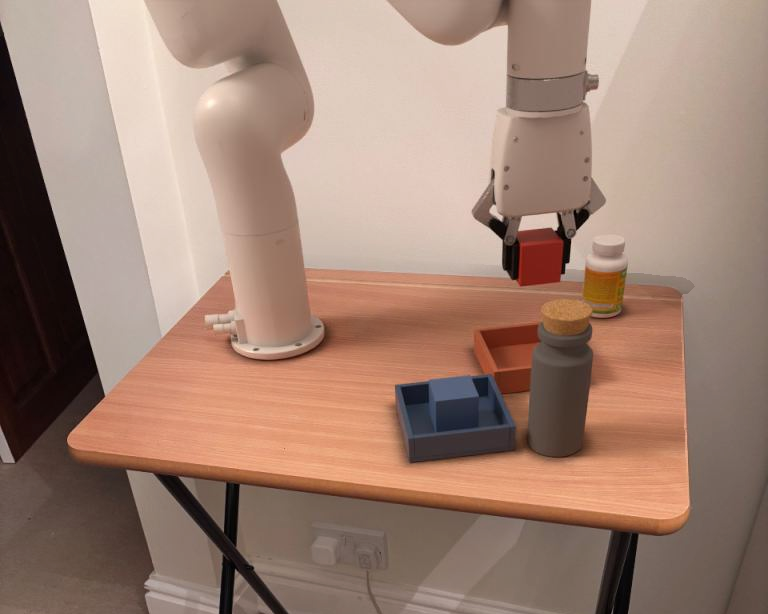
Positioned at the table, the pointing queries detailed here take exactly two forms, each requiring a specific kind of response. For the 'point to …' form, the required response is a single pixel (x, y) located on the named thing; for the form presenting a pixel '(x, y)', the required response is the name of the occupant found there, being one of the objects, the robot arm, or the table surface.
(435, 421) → the blue block
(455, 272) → the table surface
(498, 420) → the blue bin
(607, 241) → the supplement bottle
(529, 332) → the orange bin
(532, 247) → the red block
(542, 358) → the bottle
